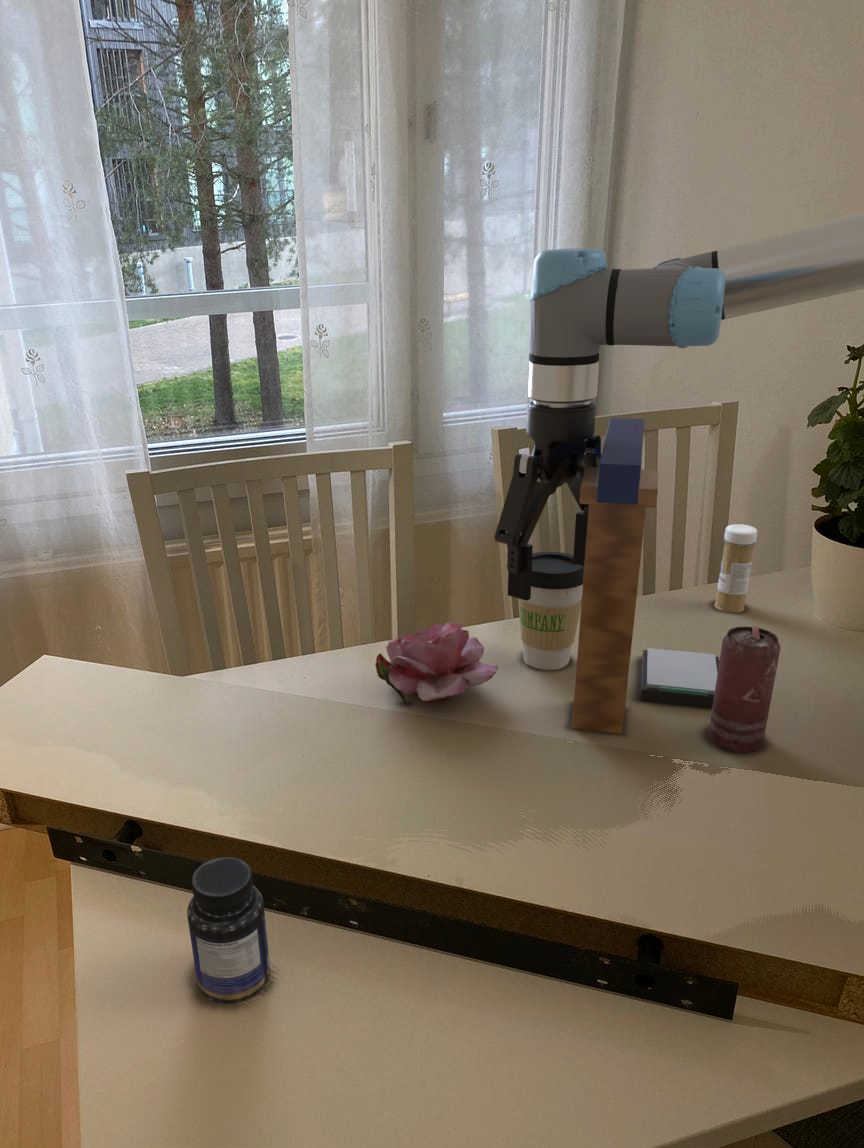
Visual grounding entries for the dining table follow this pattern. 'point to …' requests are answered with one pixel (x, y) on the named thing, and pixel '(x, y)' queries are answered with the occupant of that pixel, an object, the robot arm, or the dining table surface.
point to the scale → (679, 677)
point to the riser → (608, 603)
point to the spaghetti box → (621, 462)
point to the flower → (434, 663)
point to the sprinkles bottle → (735, 567)
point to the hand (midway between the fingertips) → (552, 580)
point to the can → (744, 688)
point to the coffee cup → (551, 610)
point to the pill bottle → (228, 931)
